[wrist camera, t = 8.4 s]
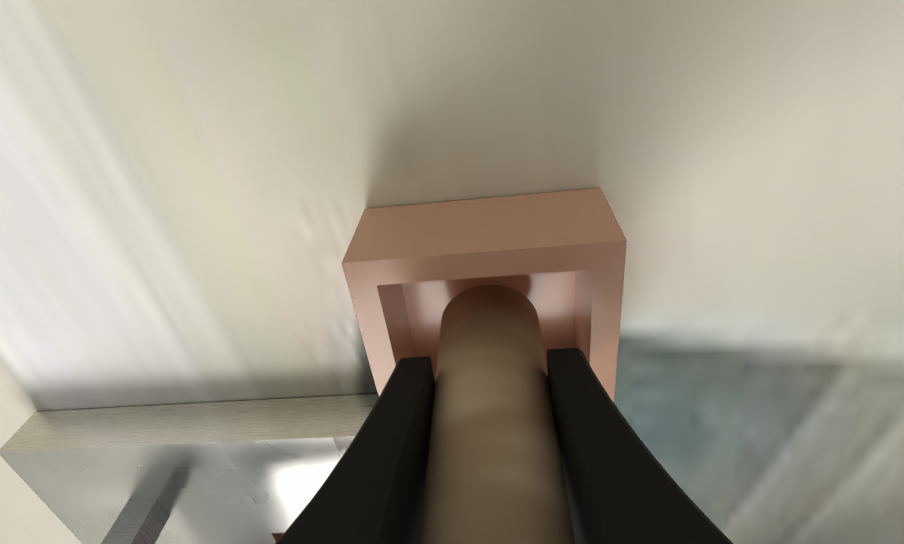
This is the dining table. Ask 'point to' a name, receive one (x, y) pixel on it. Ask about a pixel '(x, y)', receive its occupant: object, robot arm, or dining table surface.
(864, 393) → the dining table surface
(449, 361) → the stylus
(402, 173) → the dining table surface
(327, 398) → the grey fixture board
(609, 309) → the holder
